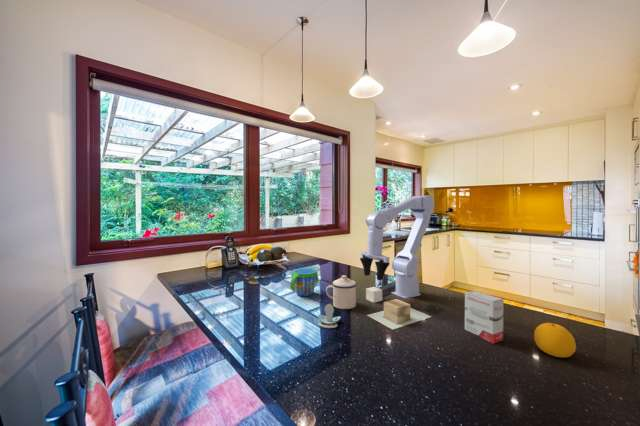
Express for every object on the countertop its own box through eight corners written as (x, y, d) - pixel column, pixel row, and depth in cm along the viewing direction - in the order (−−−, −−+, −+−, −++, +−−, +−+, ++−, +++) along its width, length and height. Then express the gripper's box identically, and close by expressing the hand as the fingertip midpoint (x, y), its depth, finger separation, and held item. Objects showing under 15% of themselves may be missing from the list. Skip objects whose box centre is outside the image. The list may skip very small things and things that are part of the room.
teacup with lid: (359, 303, 100) (358, 274, 100) (352, 312, 92) (352, 280, 91) (330, 299, 105) (330, 271, 104) (321, 307, 96) (321, 276, 96)
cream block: (374, 298, 105) (374, 286, 105) (382, 302, 101) (382, 289, 101) (366, 300, 103) (366, 288, 103) (373, 304, 99) (373, 291, 99)
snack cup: (310, 287, 121) (310, 266, 121) (326, 292, 113) (326, 269, 113) (283, 295, 110) (283, 272, 110) (299, 301, 103) (298, 276, 102)
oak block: (396, 313, 89) (396, 298, 89) (410, 319, 84) (410, 304, 84) (383, 316, 86) (383, 302, 86) (397, 323, 81) (397, 308, 81)
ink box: (504, 340, 72) (504, 298, 71) (493, 344, 69) (493, 301, 69) (474, 327, 79) (474, 289, 79) (463, 331, 77) (463, 292, 77)
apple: (580, 366, 60) (581, 334, 59) (536, 356, 64) (537, 326, 64) (570, 350, 66) (570, 321, 66) (531, 342, 71) (531, 315, 70)
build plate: (404, 306, 96) (404, 304, 96) (431, 318, 86) (431, 316, 86) (366, 316, 88) (366, 315, 88) (392, 331, 77) (392, 329, 77)
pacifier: (338, 330, 79) (341, 321, 84) (338, 311, 78) (341, 303, 84) (315, 328, 80) (320, 319, 86) (315, 308, 80) (319, 301, 86)
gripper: (356, 241, 106) (354, 274, 106) (380, 245, 94) (378, 282, 94) (369, 241, 110) (367, 272, 110) (394, 245, 97) (392, 281, 97)
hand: (373, 277), depth 102 cm, fingers open, 7 cm apart
